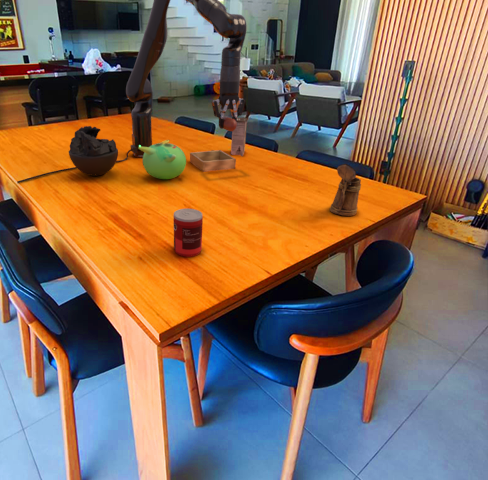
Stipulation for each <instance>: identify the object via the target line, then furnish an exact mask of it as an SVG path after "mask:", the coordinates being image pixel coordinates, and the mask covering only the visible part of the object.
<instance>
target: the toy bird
mask: <svg viewBox="0 0 488 480" xmlns="http://www.w3.org/2000/svg"><path fill="white" fill-rule="evenodd" d="M138 148H139V149H140V150H141V151H143V152H144V155H143V158H142V166H143V168H144V170H145V172H146V173H147V174H148V175H150V176H152V177H153V178H156V179H159V180H172V179H175V178H177V177H179V176H180V175H181V174H183V172H184V171H185V169H186V166H187V156H186V155H185V152H184V151H183V150H182V148H180V147H179V146H178V145H176V144H174V143H170V139H165V140H163V141H161V142H157V143H153V144H152V145H151V146H150V147H138Z"/></svg>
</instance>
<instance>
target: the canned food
mask: <svg viewBox="0 0 488 480" xmlns="http://www.w3.org/2000/svg"><path fill="white" fill-rule="evenodd" d="M203 219H204V218H203V212H201V211H200V210H198V209H194V208H180V209H177V210H175V211H174V212H173V249H174V252H175V253H176V255H179V256H181V257H184V258H185V257H186V258H191V257H196V256H198V255H199V254H200V253H201V252H202V248H203V222H204V220H203Z"/></svg>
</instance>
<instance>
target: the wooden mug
mask: <svg viewBox="0 0 488 480" xmlns="http://www.w3.org/2000/svg"><path fill="white" fill-rule="evenodd" d="M336 172H337V175H338V176H339V177H340V178H341V180H340V181H339V183H338V187H337V190H336V193H335V195H334V199H333V201H332V203H331V204H330V208H329V211H330V212H331V213H332V214H335V215H338V216H343V217H353V216H356V215H357V212H358V202H359V195H360V191H361V187H362V184H361V181H362V179H361V178H359V177H356V176H357V172H356V170H355V168H353V166H351V165H349V164H347V163H342V164H339V165H338V166H337V168H336Z"/></svg>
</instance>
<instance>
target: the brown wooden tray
mask: <svg viewBox="0 0 488 480" xmlns="http://www.w3.org/2000/svg"><path fill="white" fill-rule="evenodd" d="M189 163H191V164H192V165H193V166H195V167H196V168H197V169H198V170H200V171H201V172H202V173H204V172H216V171H224V170H225V171H226V170H234V169H236V164H237V158H234V157H233V156H231V154H229V153H226V152H225V151H223V150H221V149H217V150H205V151H195V152H189Z"/></svg>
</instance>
